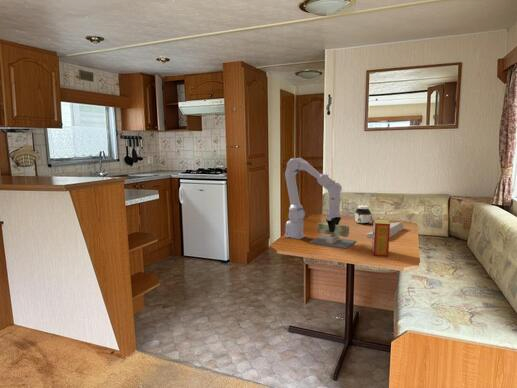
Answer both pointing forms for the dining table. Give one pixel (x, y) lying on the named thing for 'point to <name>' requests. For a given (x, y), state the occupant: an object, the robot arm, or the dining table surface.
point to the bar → (338, 231)
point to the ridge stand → (333, 241)
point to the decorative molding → (393, 229)
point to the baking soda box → (380, 237)
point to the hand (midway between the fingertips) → (333, 231)
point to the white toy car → (363, 215)
